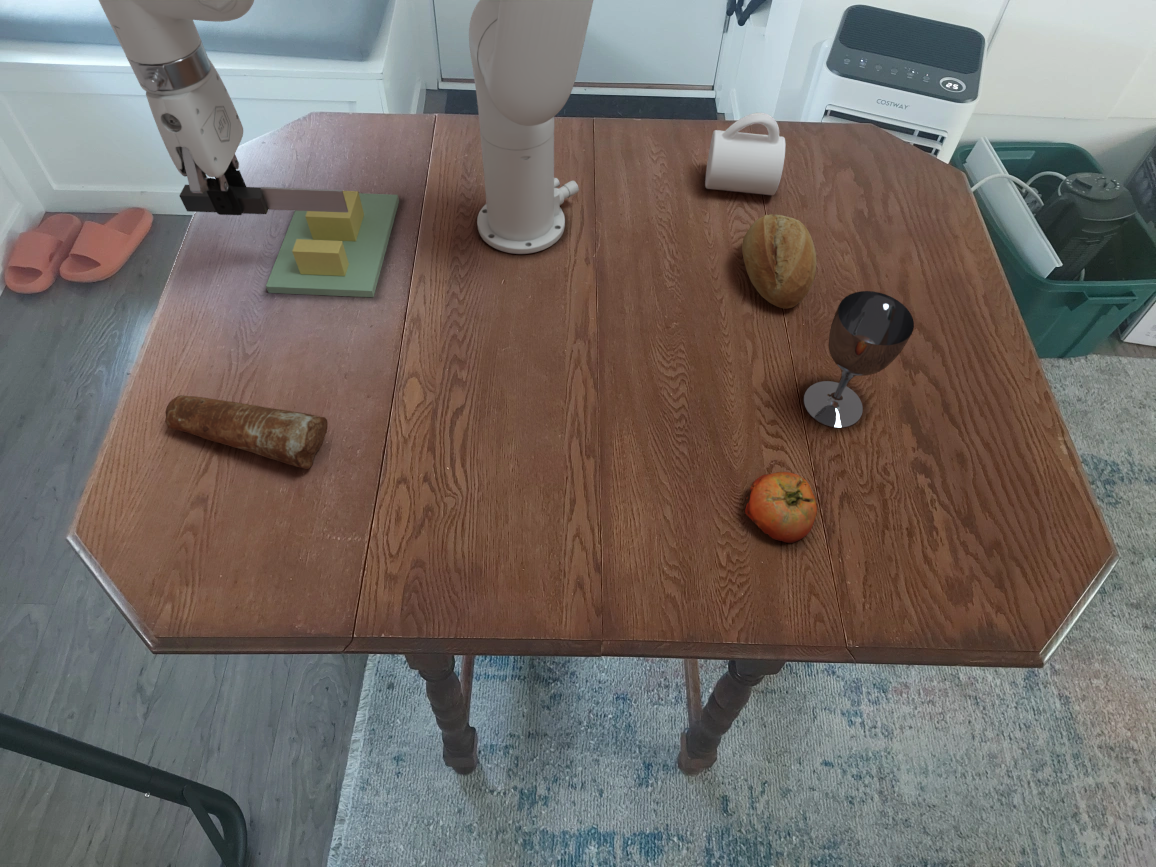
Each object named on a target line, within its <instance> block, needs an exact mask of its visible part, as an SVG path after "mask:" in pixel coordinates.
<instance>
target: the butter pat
mask: <svg viewBox="0 0 1156 867" xmlns="http://www.w3.org/2000/svg"><path fill="white" fill-rule="evenodd" d="M292 252H293V255H294V258H295V260H296V263H297V266H298V269H299V271H300V274H307V275H331V276H345V275H346V272H347V269H348V265H349V262H348V259H347V256H346V252H345V249H344V245H343V242H342V241H331V240H307V239H297V240H296V242H295V245H294V248H293V250H292Z"/></svg>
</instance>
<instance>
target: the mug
mask: <svg viewBox="0 0 1156 867" xmlns="http://www.w3.org/2000/svg"><path fill="white" fill-rule="evenodd" d="M752 125H762V126H764V127H765V128H766V130H767V134H761V133H760V134H759V133H751V132H749V133H748V132H740V131H742V130H743V129H745V128H747V127H749V126H752ZM786 146H787V145H786V138H785V137H784V136H781V135H780V128H779V124H778V122H777V121H776V119H775V118H774V117H773V116H771V115H770V114H768V113H765V112H754V113H749V114H747V115H745V116H743V117H741V118H739V119H738V120H737V121H735V122H733V123H732V124H731V125H730V126H729V127H727V128H726V129H725V130H719V129H715V130H713V132H712V135H711V139H710V143H709V149H708V154H707V163H706V171H705V178H704V180H705V181H704V186H705V187H704V188H706V190H717V191H727V192H735V193H744V194H745V193H746V194H757V195H766V196H774V195H775V194H776V193H777V191H778V189H779V186H780V183H781V179H782V175H783V171H784V166H785V158H786V148H787V147H786Z"/></svg>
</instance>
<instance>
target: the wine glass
mask: <svg viewBox="0 0 1156 867" xmlns="http://www.w3.org/2000/svg"><path fill="white" fill-rule="evenodd" d="M830 324H831V325H830V329H829V335H828V351H829V354H830V357H831V358H832V361H833V362H834V364H835V365H836V366H837V367H838V368H839V369H840V372H841V374H840V380H839V381H838V382H837V381H830V380H825V381H818V382H815V383H812V385H810V386H808V388H807V389H806V390H805V391H804V394H803V405H804V408H805V410H806V412H807V413H808V415H809V416H810V417H811V418H813V419H814V420H815V421H816V422H818V423H820V424H822V425H824V426H825V427H829V428H830V427H831V428H836V429H842V428H843V429H844V428H848V427H851V426H854V425H855V424H856V423H857V422H859V420H860V419H861V417H862V416H863V412H864V408H863V403H862V401H861V398H860V397H859V395H858V394H857V392H855V391H854V390H853V389H851V388H850V387H849V386H848V384H849V383H850V382H851V381H852V379H854V378H855V377H864V376H871V375H875V374H878V373H880V372H881V371H883V370H884V369H886V368H887V367H888V366H890V364H892V363H893V362H894V361H895V359H897V358H898V357H899V355H900V354H901V353H902V351H903V350H904V348H905V347H906V345H907V343H908V342H909V340H910V338H911V336H912V334H913V332H914V328H915V321H914V317H913V315H912V313H911V311H910V310H909V309H908V308H907V307H906V306H905V305H904V304H903V303H902V302H901V301H899V300H898V299H896V298H894V297H893V296H890V295H888V294H886V293H883V292H878V291H872V290H871V291H870V290H860V291H855V292H852V293H850V294H848V295H846V296H845V297H844V298H842V299H841V301H840V303H839V304H838V306H837V308H836V311H835V313H834V316H833V319H832V322H831V323H830Z"/></svg>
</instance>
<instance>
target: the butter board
mask: <svg viewBox="0 0 1156 867" xmlns="http://www.w3.org/2000/svg"><path fill="white" fill-rule="evenodd" d="M342 191H343V194H344V198H345V201H346V205H347V208H348V213H346V212H320V211H293V214H292V218H291V219H290V220H291V221H290V222H289V225H288V227H287V230H286V233H285V236H284V238H283V241H282V243H281V247H280V249H279V251H278V254H277V256H276V259H275V262H274V264H273V267H272V269H271V271H270V275H269V277H268V280H267V282H266V284H265V288H266V290H267V293H268V294H282V295H283V294H284V295H309V296H310V295H311V296H330V297H331V296H333V297H352V298H353V297H354V298H355V297H356V298H358V297H359V298H374V297H375V294H376V290H377V285H378V282H379V278H380V275H381V270H382V268H383V264H384V260H385V256H386V252H387V249H388V245H389V242H390V241H389V240H390V237H391V233H392V230H393V227H394V223H395V218H396V214H397V211H398V208H399V204H400V198H399V194H390V193H389V194H387V193H366V192H362V193H361V192H359V190H342ZM297 239H307V240H331V241H342V242H343V245H344V249H345V252H346V256H347V259H348V262H349V265H348V269H347V272H346V275H345V276H331V275H307V274H300V271H299V269H298V266H297V263H296V260H295V258H294V255H293V252H292V250H293V248H294V245H295V242H296V240H297Z"/></svg>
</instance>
